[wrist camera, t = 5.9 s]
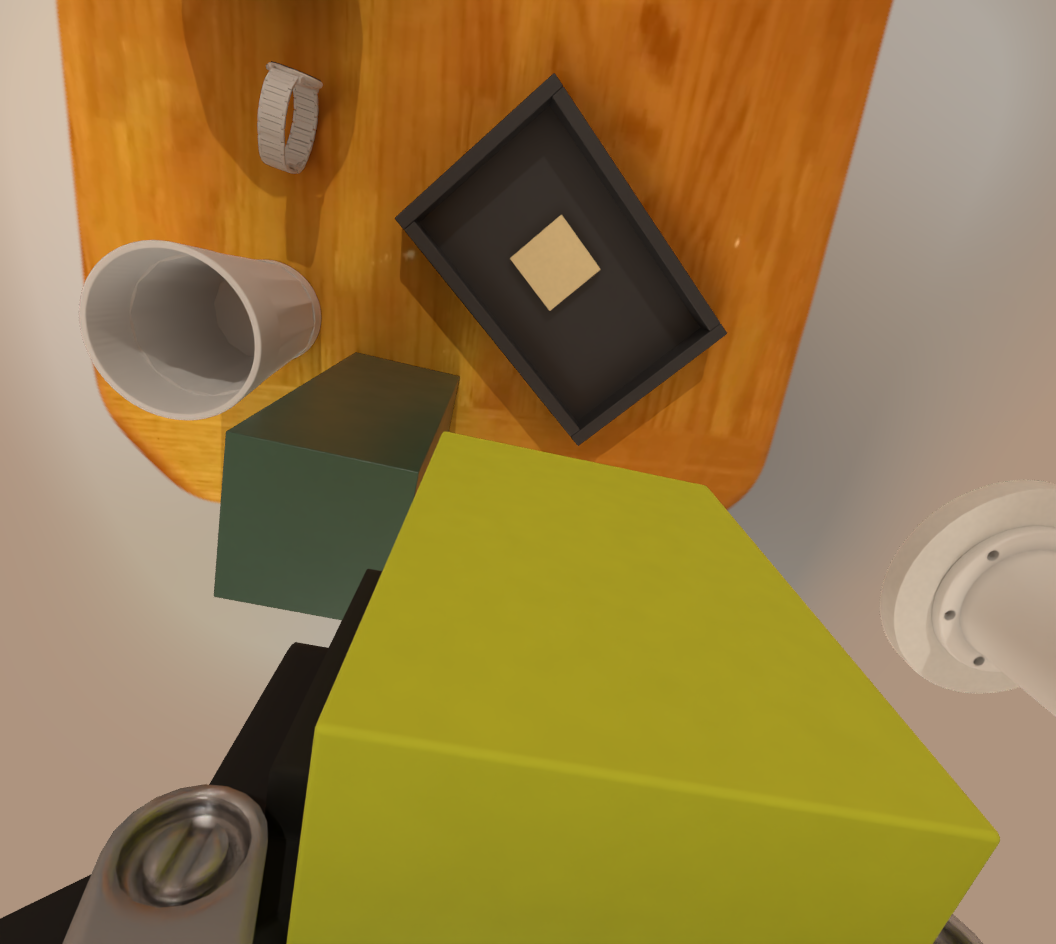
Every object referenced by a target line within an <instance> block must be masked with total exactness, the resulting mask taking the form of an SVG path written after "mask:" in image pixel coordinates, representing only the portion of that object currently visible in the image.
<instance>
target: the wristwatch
mask: <svg viewBox="0 0 1056 944" xmlns="http://www.w3.org/2000/svg"><path fill="white" fill-rule="evenodd" d="M266 69H267V70H269V72H268V74H267V76H266V77H265V81H264V83H263V86H262V90H261V95H260V101H259V106H260V107H259V108H258V123H257V126H258V146H259V154H260V157H261V160H262V161H263V162H264V163H266V164H267V165H269V166H272V167H275V168H278V169H280V170H283V171H286V172H289V173H292V174H297V173H298V174H299V173H300V172H302V170H303V169H304V167H305V166H306V163H307V161H308V158H309V155H310V152H311V150H312V146H313V142H314V139H315V134H316V129H317V122H318V118H317V117H318V95H317V93H318V92H319V89H320V88H322V86H323V84H322V82H321V81H320V80H318V79H316V78H314V77H312V76H310V75H307V74H305V73H303V72H300V71H298V70H295V69H293V68H290V67H288V66H285V65H282V64H279V63H276V62H272V61H271V62H269V63H268V64H267V65H266ZM292 91H293V94H294V109H296V110H294V113H293V122H295V123H293V122H292V126H291V131H290V133H291V134H290V135H289V138H288V141H287V145H286V147H285V143H284V142H285V130H283V129H285V124H286V115H287V110H288V103H289V100H290V96H291V93H292ZM261 107H262V108H261ZM263 112H264V113H263ZM266 113H267V114H266ZM283 115H284V116H283ZM277 117H278V118H277ZM300 120H301V121H300ZM311 124H312V125H311ZM300 128H301V129H300ZM303 129H304V130H303ZM314 129H315V130H314ZM311 132H312V133H311ZM311 141H312V142H311Z"/></svg>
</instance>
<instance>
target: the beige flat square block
mask: <svg viewBox="0 0 1056 944" xmlns="http://www.w3.org/2000/svg"><path fill="white" fill-rule="evenodd" d="M510 260H511V261H512V262H513V263H514V265H515V266H516V267H517V269H518V270H519V271H520V273H521V274H522V275H523V277H524V278H525V279H526V281H527V282H528V283H529V285H530V286H531V287H532V289H533V290H534V291H535V292H536V294H537V295H538V296H539V298H540V299H541V300H542V302H543V303H544V304H545V306H546V307H547V308H548V310H549V311H551V310H552V309H553V308H554V307H556V306H557V305H558V304H559V303H560V302H562V301H563V300H564V299H565V298H567V297H568V296H569V295H570V294H571V293H573V292H574V291H575V290H576V289H578V288H579V287H580V286H581V285H582V284H584V283H585V282H586V281H587V280H589V279H590V278H591V277H592V276H593V275H595V274H596V273H597V272H598V271H600V268H599V266H598V265H597V263H596V262H595V261H594V259H593V258H592V256H591V255H590V253H589V252H588V251H587V249H586V248H585V246H584V245H583V244H582V242H581V241H580V239H579V238H578V237H577V235H576V234H575V232H574V231H573V230H572V228H571V227H570V225H569V224H568V223H567V221H566V220H565V218H564V217H563V216H562V215H560V216H559V217H558V218H557V219H555V220H554V221H553V222H552V223H551V224H550V225H548V226H547V227H546V228H545V229H544V230H542V231H541V232H540V233H539V234H538V235H537V236H535V237H534V238H533V239H532V240H531V241H530V242H528V243H527V244H526V245H525V246H524V247H523V248H521V249H520V250H519V251H518V252H517V253H515V254H514V255H513V256H512V257H511V258H510Z"/></svg>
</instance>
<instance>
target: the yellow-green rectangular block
mask: <svg viewBox="0 0 1056 944" xmlns="http://www.w3.org/2000/svg"><path fill="white" fill-rule="evenodd" d="M999 842H1000V837H999V834H998V832H997V831H996V830H995V829H994V827H993V826H992V825H991V824H990V823H989V821H988V820H987V819H986V818H985V817H984V816H983V814H982V813H981V812H980V811H979V810H978V808H977V807H976V806H975V805H974V804H973V802H972V801H971V800H970V799H969V798H968V797H967V795H966V794H965V793H964V792H963V791H962V790H961V788H960V787H959V786H958V785H957V783H956V782H955V781H954V780H953V779H952V777H951V776H950V775H949V774H948V773H947V772H946V770H945V769H944V768H943V767H942V766H941V764H940V763H939V762H938V761H937V760H936V758H935V757H934V756H933V755H932V754H931V752H930V751H929V750H928V749H927V748H926V747H925V745H924V744H923V743H922V742H921V741H920V740H919V738H918V737H917V736H916V735H915V733H914V732H913V731H912V730H911V729H910V728H909V726H908V725H907V724H906V723H905V722H904V720H903V719H902V718H901V717H900V716H899V715H898V713H897V712H896V711H895V710H894V708H893V707H892V706H891V705H890V704H889V703H888V701H887V700H886V699H885V698H884V697H883V695H882V694H881V693H880V692H879V691H878V690H877V688H876V687H875V686H874V685H873V683H872V682H871V681H870V680H869V679H868V678H867V676H866V675H865V674H864V673H863V672H862V670H861V669H860V668H859V667H858V666H857V664H856V663H855V662H854V661H853V660H852V659H851V657H850V656H849V655H848V654H847V653H846V651H845V650H844V649H843V648H842V647H841V645H840V644H839V643H838V642H837V641H836V639H835V638H834V637H833V636H832V635H831V634H830V632H829V631H828V630H827V629H826V628H825V626H824V625H823V624H822V623H821V622H820V620H819V619H818V618H817V617H816V616H815V615H814V613H813V612H812V611H811V610H810V609H809V607H808V606H807V605H806V604H805V603H804V602H803V600H802V599H801V598H800V597H799V595H798V594H797V593H796V592H795V591H794V590H793V589H792V587H791V586H790V585H789V584H788V582H787V581H786V580H785V579H784V578H783V577H782V575H781V574H780V573H779V572H778V570H777V569H776V568H775V567H774V566H773V565H772V563H771V562H770V561H769V560H768V559H767V557H766V556H765V555H764V554H763V553H762V551H760V549H759V548H758V547H757V546H756V544H755V543H754V542H753V541H752V540H751V538H750V537H749V536H748V535H747V534H746V533H745V531H744V530H743V529H742V528H741V526H740V525H739V524H738V523H737V522H736V521H735V519H734V518H733V517H732V516H731V515H730V513H729V512H728V511H727V510H726V509H725V507H724V506H723V505H722V504H721V503H720V502H719V500H718V499H717V498H716V497H715V496H714V494H713V493H712V492H711V491H710V490H709V488H708V487H707V486H705V485H700V484H695V483H690V482H685V481H681V480H676V479H671V478H666V477H661V476H657V475H652V474H647V473H642V472H638V471H633V470H628V469H623V468H618V467H614V466H609V465H604V464H599V463H595V462H590V461H585V460H580V459H575V458H571V457H566V456H561V455H556V454H551V453H547V452H542V451H537V450H532V449H528V448H523V447H518V446H513V445H508V444H504V443H499V442H494V441H489V440H485V439H480V438H475V437H470V436H465V435H461V434H456V433H451V432H446V431H445V432H443V433H442V435H441V437H440V439H439V442H438V444H437V446H436V449H435V451H434V453H433V455H432V458H431V460H430V462H429V465H428V467H427V469H426V472H425V474H424V476H423V479H422V481H421V483H420V486H419V488H418V490H417V492H416V495H415V497H414V499H413V502H412V504H411V506H410V509H409V511H408V513H407V516H406V518H405V520H404V523H403V525H402V527H401V529H400V532H399V534H398V536H397V539H396V541H395V543H394V546H393V548H392V550H391V553H390V555H389V557H388V560H387V562H386V564H385V567H384V569H383V571H382V573H381V576H380V578H379V580H378V583H377V585H376V587H375V590H374V592H373V594H372V597H371V599H370V601H369V604H368V606H367V608H366V610H365V613H364V615H363V617H362V620H361V622H360V624H359V627H358V629H357V631H356V634H355V636H354V638H353V641H352V643H351V645H350V648H349V650H348V652H347V654H346V657H345V659H344V661H343V664H342V666H341V668H340V671H339V673H338V675H337V678H336V680H335V682H334V685H333V687H332V689H331V691H330V694H329V696H328V698H327V701H326V703H325V705H324V708H323V710H322V712H321V715H320V717H319V719H318V722H317V724H316V726H315V731H314V739H313V746H312V754H311V761H310V769H309V776H308V784H307V792H306V799H305V807H304V814H303V822H302V829H301V837H300V844H299V852H298V860H297V867H296V875H295V882H294V890H293V897H292V905H291V912H290V920H289V928H288V935H287V943H286V944H933V943H934V941H935V940H936V938H937V937H938V935H939V934H940V932H941V930H942V929H943V927H944V926H945V924H946V923H947V921H948V920H949V918H950V917H951V915H952V914H953V912H954V911H955V909H956V908H957V906H958V905H959V903H960V902H961V900H962V899H963V897H964V895H965V894H966V892H967V891H968V889H969V888H970V886H971V885H972V883H973V882H974V880H975V879H976V877H977V876H978V874H979V873H980V871H981V870H982V868H983V867H984V865H985V863H986V862H987V861H988V859H989V857H990V856H991V854H992V853H993V851H994V850H995V848H996V847H997V845H998V844H999Z"/></svg>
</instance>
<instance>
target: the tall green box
mask: <svg viewBox="0 0 1056 944" xmlns="http://www.w3.org/2000/svg"><path fill="white" fill-rule="evenodd" d="M459 379H460V377H459V376H456V375H452V374H447V373H443V372H439V371H434V370H430V369H426V368H421V367H417V366H413V365H408V364H404V363H400V362H395V361H391V360H387V359H382V358H378V357H374V356H369V355H365V354H361V353H357V352H356V353H354V354H352V355H351V356H349V357H347V358H346V359H344V360H342V361H341V362H339V363H337V364H336V365H334V366H333V367H331V368H329V369H328V370H326V371H324V372H323V373H321V374H319V375H318V376H316V377H315V378H313V379H311V380H310V381H308V382H306V383H305V384H303V385H301V386H300V387H298V388H297V389H295V390H293V391H292V392H290V393H288V394H287V395H285V396H283V397H282V398H280V399H279V400H277V401H275V402H274V403H272V404H270V405H269V406H267V407H265V408H264V409H262V410H261V411H259V412H257V413H256V414H254V415H252V416H251V417H249V418H248V419H246V420H244V421H243V422H241V423H239V424H238V425H236V426H234V427H233V428H231V429H230V430H228V431H226V439H225V453H224V466H223V480H222V493H221V506H220V521H219V533H218V547H217V561H216V573H215V587H214V596H215V597H219V598H224V599H229V600H235V601H240V602H246V603H251V604H256V605H262V606H267V607H273V608H278V609H284V610H289V611H294V612H300V613H305V614H311V615H316V616H322V617H327V618H332V619H339V620H342V619H343V617H344V615H345V613H346V611H347V609H348V607H349V605H350V603H351V601H352V599H353V597H354V595H355V592H356V590H357V588H358V586H359V584H360V582H361V580H362V578H363V576H364V574H365V572H366V570H367V569H373V570H379V571H383V569H384V567H385V564H386V562H387V560H388V557H389V555H390V553H391V550H392V548H393V546H394V543H395V541H396V539H397V536H398V534H399V532H400V529H401V527H402V525H403V523H404V520H405V518H406V516H407V513H408V511H409V509H410V506H411V504H412V502H413V499H414V497H415V495H416V492H417V490H418V488H419V486H420V483H421V481H422V479H423V476H424V474H425V472H426V469H427V467H428V465H429V462H430V460H431V458H432V455H433V453H434V451H435V449H436V446H437V444H438V442H439V439H440V437H441V435H442V433H443V432H445V431H446V432H449V428H450V423H451V418H452V413H453V409H454V404H455V399H456V394H457V389H458V384H459Z"/></svg>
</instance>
